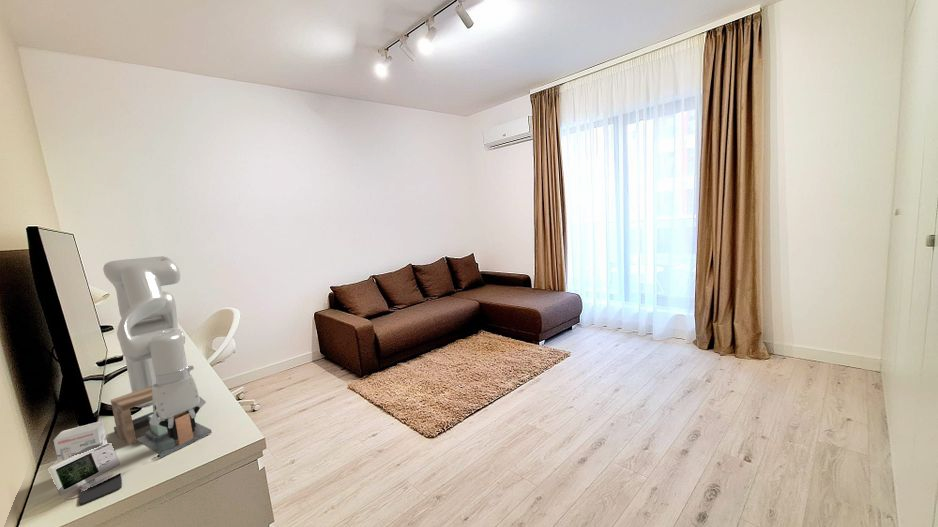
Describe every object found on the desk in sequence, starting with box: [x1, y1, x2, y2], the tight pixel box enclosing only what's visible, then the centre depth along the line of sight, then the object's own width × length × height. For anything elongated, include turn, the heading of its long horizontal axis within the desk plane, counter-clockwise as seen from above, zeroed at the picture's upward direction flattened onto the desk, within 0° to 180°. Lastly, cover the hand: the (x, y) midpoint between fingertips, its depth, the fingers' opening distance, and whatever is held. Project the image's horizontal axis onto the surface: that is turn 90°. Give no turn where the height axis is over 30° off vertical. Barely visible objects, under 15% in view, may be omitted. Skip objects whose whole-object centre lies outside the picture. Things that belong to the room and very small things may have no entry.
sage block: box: [148, 414, 168, 436], centre depth 113 cm, size 6×6×6 cm
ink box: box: [53, 421, 108, 463], centre depth 98 cm, size 9×5×12 cm, turn 122°
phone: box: [78, 472, 123, 506], centre depth 92 cm, size 7×1×15 cm
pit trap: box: [113, 411, 154, 435], centre depth 121 cm, size 4×16×3 cm, turn 149°
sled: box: [136, 412, 213, 459], centre depth 110 cm, size 18×13×9 cm
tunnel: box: [110, 386, 186, 446], centre depth 116 cm, size 10×17×14 cm, turn 149°
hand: (182, 433), depth 107 cm, fingers closed on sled, 3 cm apart
